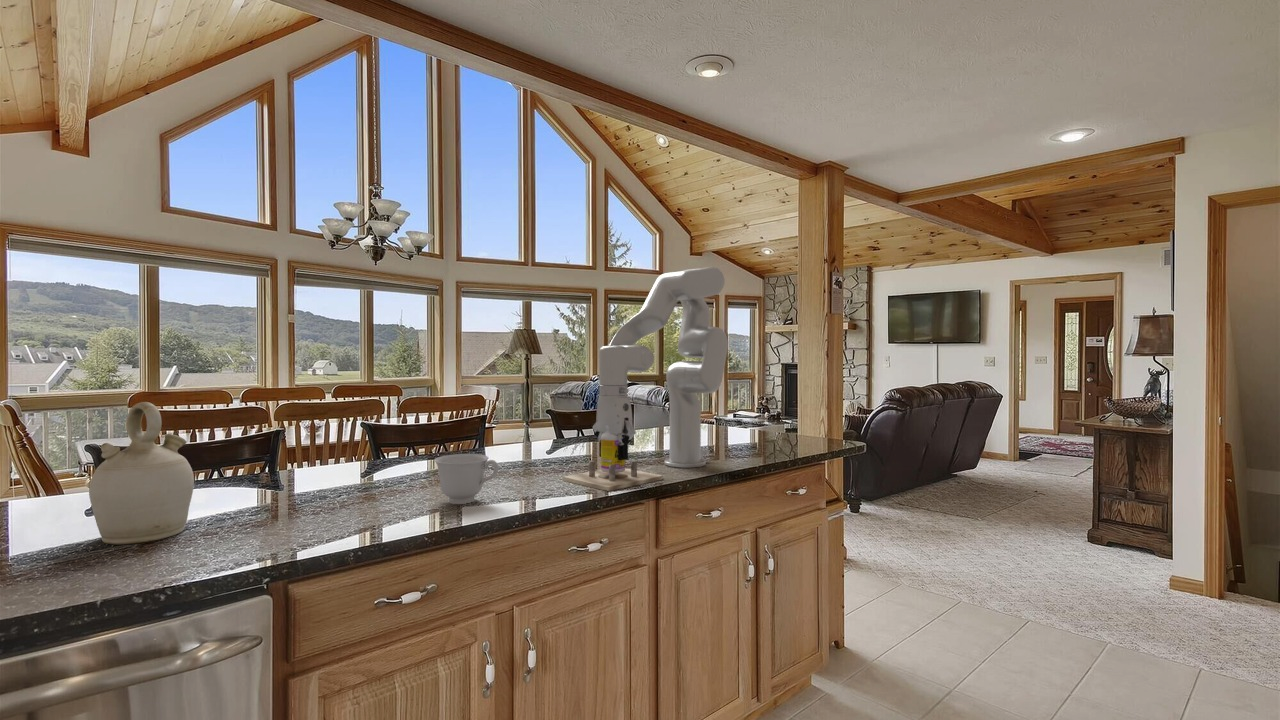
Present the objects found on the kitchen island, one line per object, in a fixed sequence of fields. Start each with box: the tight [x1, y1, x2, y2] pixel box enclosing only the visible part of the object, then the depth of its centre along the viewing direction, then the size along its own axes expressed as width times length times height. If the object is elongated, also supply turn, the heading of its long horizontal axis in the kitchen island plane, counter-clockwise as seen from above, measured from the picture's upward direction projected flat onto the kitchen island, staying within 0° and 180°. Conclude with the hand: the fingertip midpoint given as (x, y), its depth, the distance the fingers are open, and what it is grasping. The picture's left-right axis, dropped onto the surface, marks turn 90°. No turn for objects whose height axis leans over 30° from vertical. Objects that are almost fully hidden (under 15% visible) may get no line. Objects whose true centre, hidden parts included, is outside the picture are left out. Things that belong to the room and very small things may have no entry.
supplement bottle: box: [600, 425, 627, 473], centre depth 166 cm, size 7×7×13 cm
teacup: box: [433, 453, 499, 505], centre depth 142 cm, size 12×15×10 cm
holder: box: [562, 460, 664, 492], centre depth 166 cm, size 20×18×5 cm
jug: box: [88, 401, 195, 545], centre depth 116 cm, size 15×16×25 cm
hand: (613, 457), depth 166 cm, fingers closed on supplement bottle, 6 cm apart
